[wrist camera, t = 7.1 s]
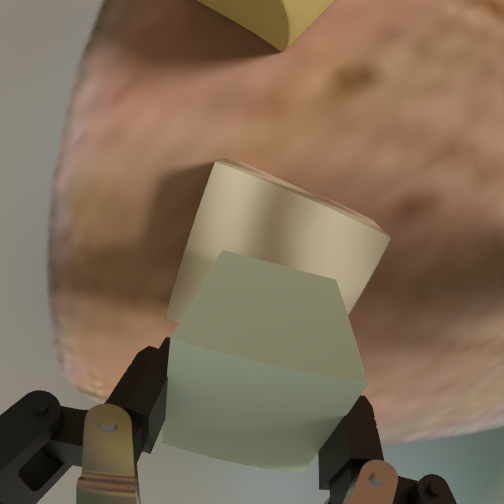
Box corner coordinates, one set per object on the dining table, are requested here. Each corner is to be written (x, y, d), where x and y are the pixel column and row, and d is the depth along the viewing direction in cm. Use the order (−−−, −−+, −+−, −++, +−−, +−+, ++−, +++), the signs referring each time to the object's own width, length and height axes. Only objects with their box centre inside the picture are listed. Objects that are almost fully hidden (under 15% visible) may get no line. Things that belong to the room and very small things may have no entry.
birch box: (370, 218, 21) (391, 237, 16) (307, 334, 25) (310, 373, 20) (231, 158, 21) (214, 161, 16) (186, 286, 25) (164, 317, 20)
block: (336, 279, 14) (367, 383, 7) (300, 365, 16) (301, 473, 9) (222, 249, 14) (170, 337, 7) (203, 341, 16) (162, 442, 9)
